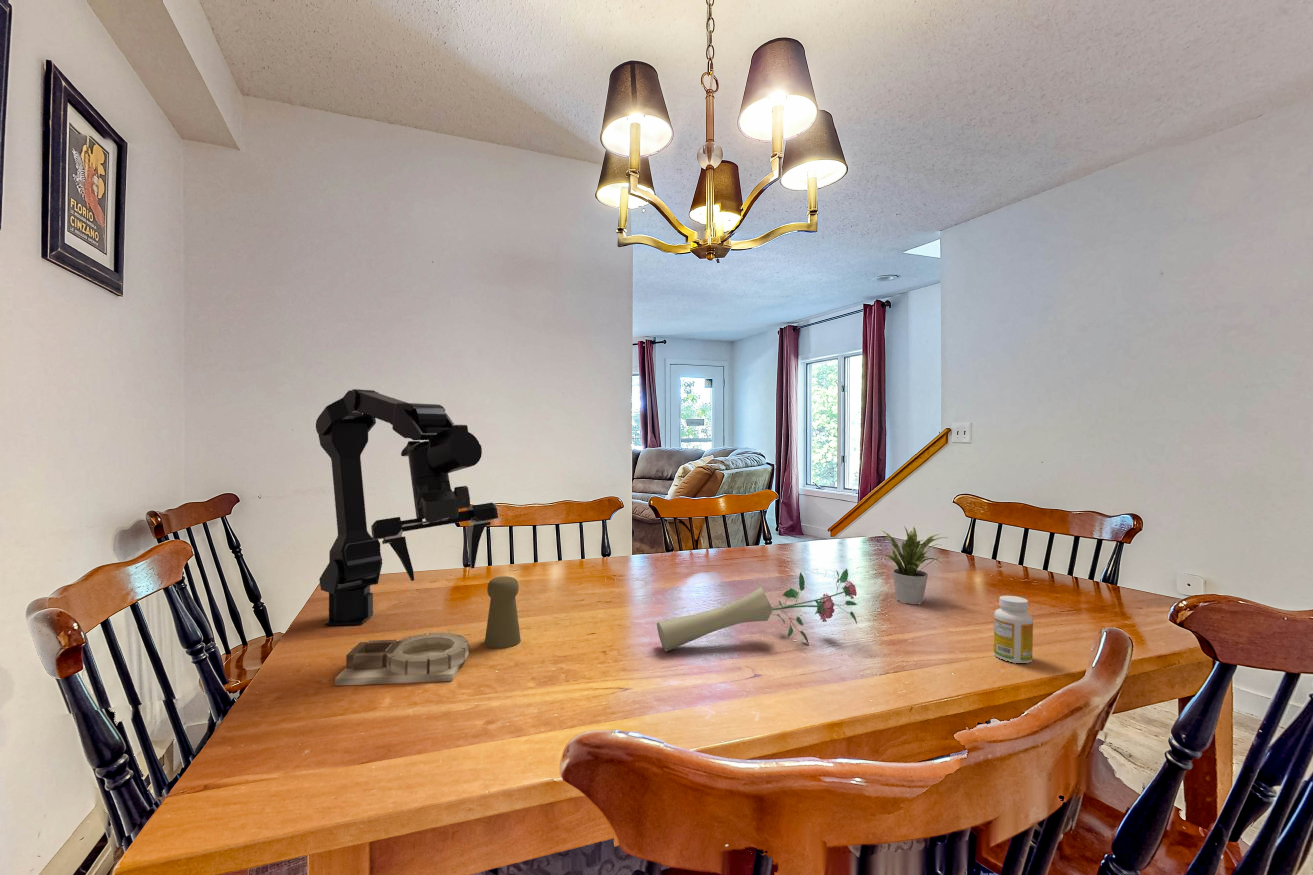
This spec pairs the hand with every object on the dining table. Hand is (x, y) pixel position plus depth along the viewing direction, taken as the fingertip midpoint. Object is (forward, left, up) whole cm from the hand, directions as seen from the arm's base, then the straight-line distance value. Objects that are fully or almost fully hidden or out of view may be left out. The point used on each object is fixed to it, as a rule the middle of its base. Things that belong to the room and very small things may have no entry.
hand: (443, 574), depth 93 cm
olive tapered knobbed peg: (+9, +5, -13) cm, 17 cm away
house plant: (+93, +20, -13) cm, 96 cm away
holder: (-4, -4, -13) cm, 14 cm away
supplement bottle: (+92, -10, -13) cm, 93 cm away
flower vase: (+52, 0, -13) cm, 54 cm away
